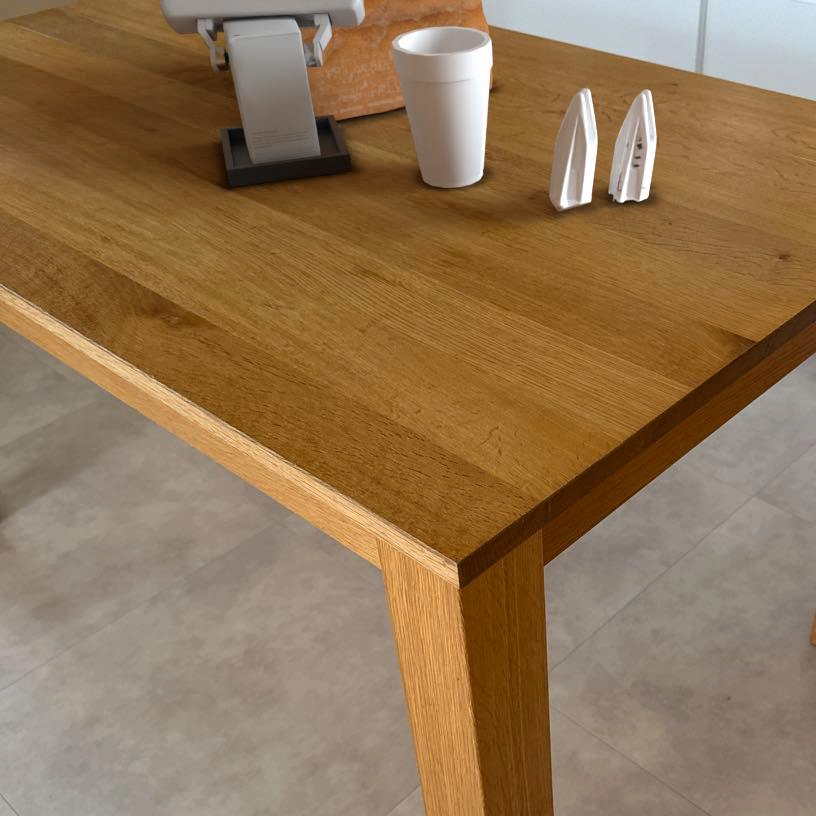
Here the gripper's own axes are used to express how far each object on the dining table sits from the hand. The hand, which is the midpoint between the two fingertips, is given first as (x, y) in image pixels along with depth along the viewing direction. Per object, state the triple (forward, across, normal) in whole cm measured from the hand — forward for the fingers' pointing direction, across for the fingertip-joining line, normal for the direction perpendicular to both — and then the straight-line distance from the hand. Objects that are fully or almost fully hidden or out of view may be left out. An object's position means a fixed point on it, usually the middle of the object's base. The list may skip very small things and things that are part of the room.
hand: (267, 66), depth 102 cm
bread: (-6, +9, +20) cm, 23 cm away
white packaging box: (+6, 0, +7) cm, 9 cm away
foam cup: (+12, +18, +2) cm, 21 cm away
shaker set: (+18, +32, -4) cm, 37 cm away
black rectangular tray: (+6, 0, +7) cm, 10 cm away
